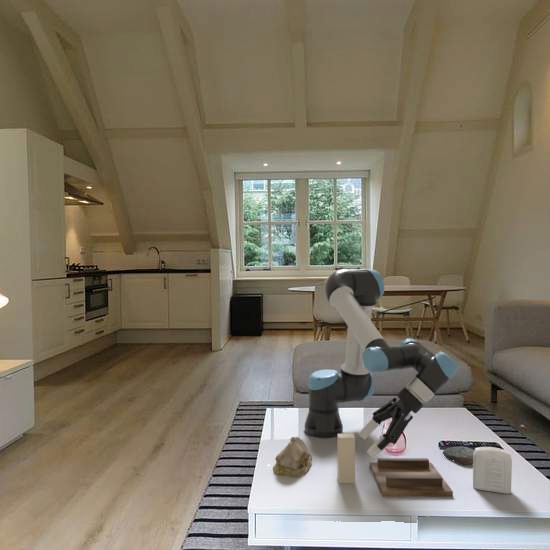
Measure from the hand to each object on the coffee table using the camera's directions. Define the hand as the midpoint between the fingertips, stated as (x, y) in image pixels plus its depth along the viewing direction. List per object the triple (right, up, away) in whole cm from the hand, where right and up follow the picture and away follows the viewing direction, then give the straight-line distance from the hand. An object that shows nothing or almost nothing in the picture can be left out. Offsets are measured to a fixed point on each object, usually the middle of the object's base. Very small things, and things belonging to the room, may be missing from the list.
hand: (365, 445), depth 133 cm
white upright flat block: (+36, -12, -4) cm, 38 cm away
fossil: (+37, -11, +17) cm, 42 cm away
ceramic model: (-21, -12, +11) cm, 27 cm away
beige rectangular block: (-6, -11, +2) cm, 13 cm away
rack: (+13, -11, +1) cm, 18 cm away
